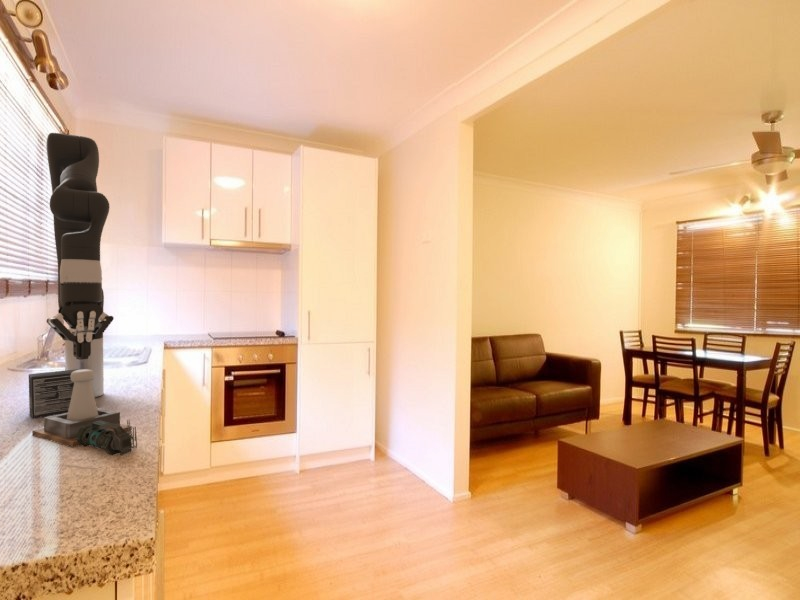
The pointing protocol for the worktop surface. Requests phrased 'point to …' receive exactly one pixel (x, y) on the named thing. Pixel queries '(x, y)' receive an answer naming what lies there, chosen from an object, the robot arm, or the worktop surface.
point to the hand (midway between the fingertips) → (82, 359)
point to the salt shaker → (82, 396)
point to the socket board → (74, 426)
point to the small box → (50, 393)
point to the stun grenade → (107, 437)
